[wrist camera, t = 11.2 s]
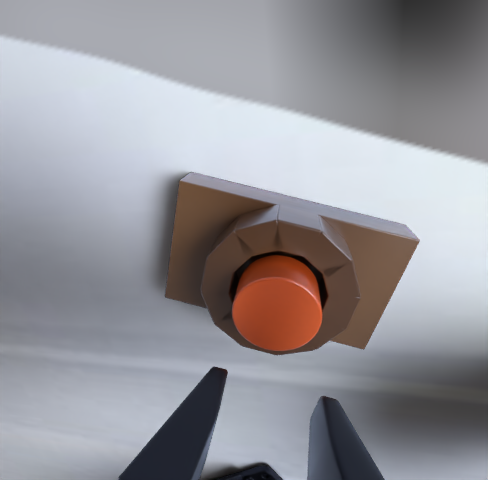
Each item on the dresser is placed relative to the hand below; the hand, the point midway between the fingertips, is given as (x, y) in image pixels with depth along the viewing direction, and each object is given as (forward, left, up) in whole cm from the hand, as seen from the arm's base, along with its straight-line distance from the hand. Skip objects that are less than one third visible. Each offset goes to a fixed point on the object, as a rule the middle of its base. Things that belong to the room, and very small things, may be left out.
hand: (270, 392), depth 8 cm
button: (0, 0, -5) cm, 5 cm away
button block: (0, 0, -8) cm, 8 cm away
